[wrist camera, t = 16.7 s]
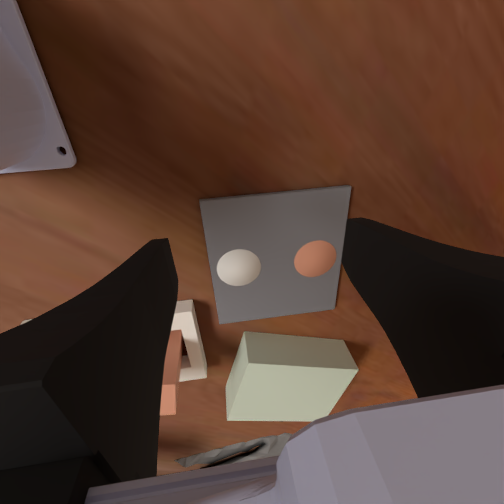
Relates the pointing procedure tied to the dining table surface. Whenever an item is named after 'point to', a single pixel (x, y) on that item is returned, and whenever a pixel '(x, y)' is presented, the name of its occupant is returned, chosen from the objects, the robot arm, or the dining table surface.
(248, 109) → the dining table surface
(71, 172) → the dining table surface
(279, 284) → the pattern mat
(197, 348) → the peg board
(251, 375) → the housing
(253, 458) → the cloth
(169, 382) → the peg
